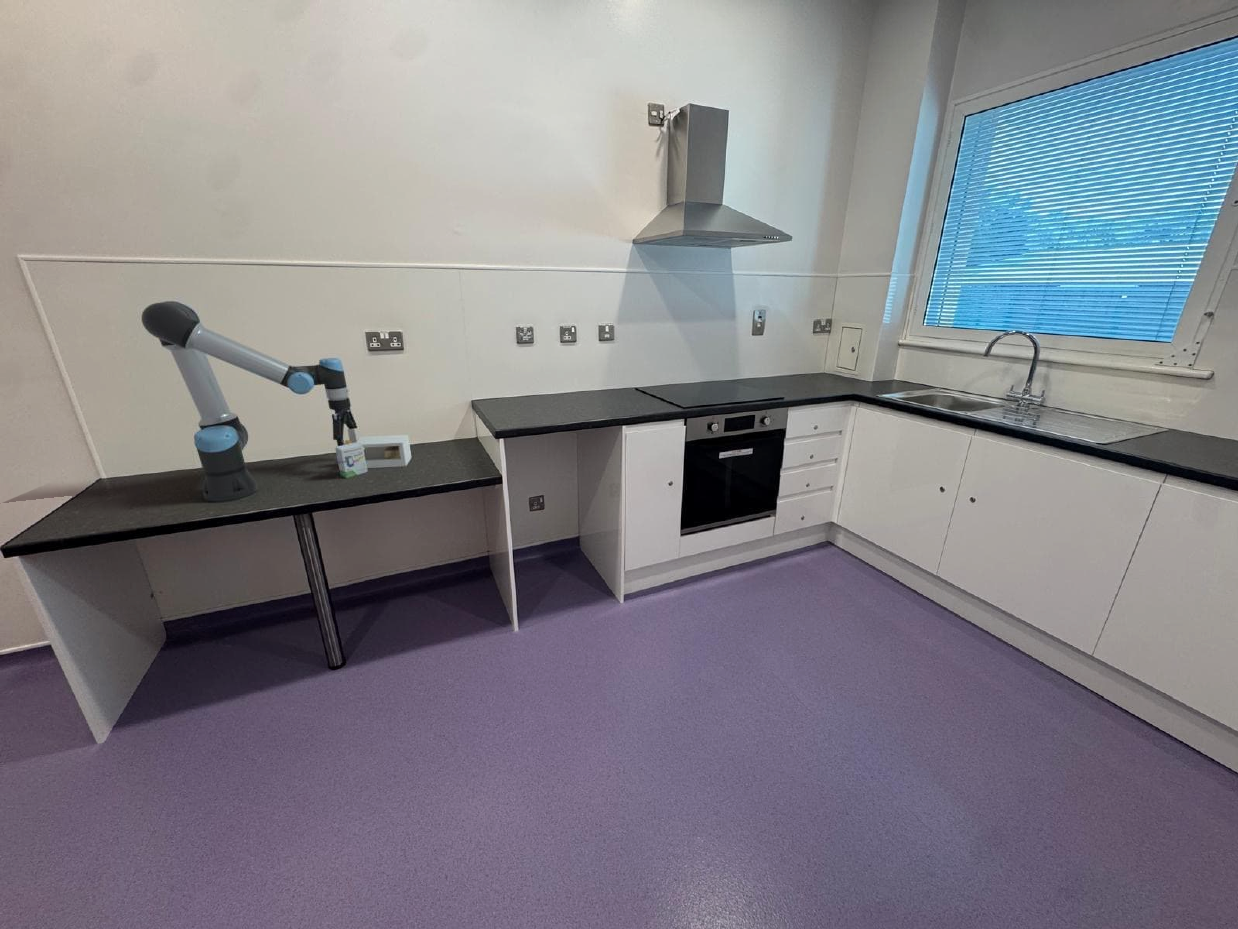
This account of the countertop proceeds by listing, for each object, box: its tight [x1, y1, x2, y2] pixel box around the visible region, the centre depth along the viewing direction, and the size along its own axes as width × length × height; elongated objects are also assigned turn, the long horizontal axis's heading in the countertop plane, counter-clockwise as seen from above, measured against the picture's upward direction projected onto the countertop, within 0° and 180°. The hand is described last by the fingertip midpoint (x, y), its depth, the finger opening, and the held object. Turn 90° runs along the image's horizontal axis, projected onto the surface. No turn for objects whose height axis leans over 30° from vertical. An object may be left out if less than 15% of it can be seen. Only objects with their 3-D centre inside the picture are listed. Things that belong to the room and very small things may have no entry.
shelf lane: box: [357, 434, 412, 469], centre depth 204 cm, size 18×11×10 cm, turn 101°
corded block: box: [345, 439, 401, 459], centre depth 203 cm, size 22×6×10 cm, turn 101°
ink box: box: [335, 442, 368, 479], centre depth 192 cm, size 9×5×12 cm, turn 143°
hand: (349, 449), depth 201 cm, fingers open, 13 cm apart
